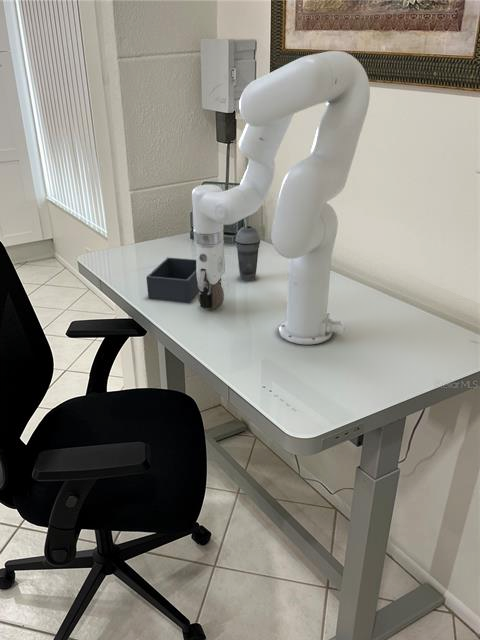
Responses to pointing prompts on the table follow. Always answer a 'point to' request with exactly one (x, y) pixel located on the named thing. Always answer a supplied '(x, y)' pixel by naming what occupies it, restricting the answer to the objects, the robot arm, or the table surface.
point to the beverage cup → (247, 251)
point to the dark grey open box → (173, 281)
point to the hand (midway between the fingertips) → (211, 301)
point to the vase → (215, 296)
